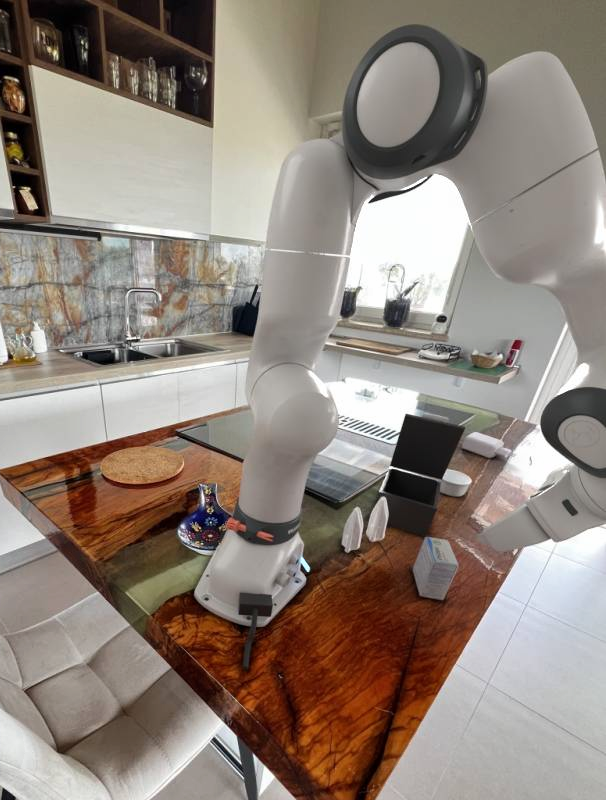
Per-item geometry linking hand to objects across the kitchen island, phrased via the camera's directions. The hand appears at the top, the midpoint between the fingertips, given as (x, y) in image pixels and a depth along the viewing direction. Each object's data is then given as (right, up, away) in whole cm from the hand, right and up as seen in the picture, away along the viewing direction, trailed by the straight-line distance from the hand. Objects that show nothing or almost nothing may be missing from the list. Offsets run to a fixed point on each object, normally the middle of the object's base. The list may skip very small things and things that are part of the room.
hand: (498, 527), depth 68 cm
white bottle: (+44, +20, +73) cm, 87 cm away
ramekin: (+17, +7, +48) cm, 51 cm away
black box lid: (+2, +17, +30) cm, 34 cm away
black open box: (-1, +1, +35) cm, 35 cm away
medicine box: (-6, -12, +13) cm, 19 cm away
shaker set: (-15, -5, +23) cm, 28 cm away
